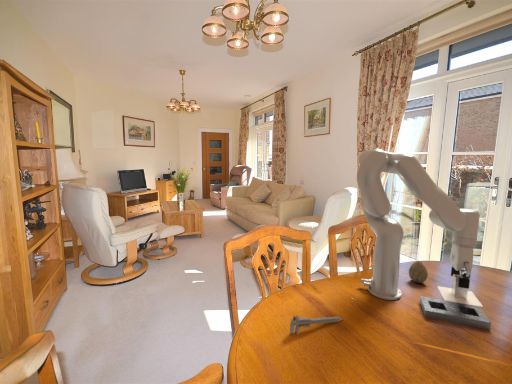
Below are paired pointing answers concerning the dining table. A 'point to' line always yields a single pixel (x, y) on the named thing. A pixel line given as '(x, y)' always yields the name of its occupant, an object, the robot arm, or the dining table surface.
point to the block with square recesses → (454, 312)
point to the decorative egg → (418, 272)
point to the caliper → (310, 322)
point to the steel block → (458, 288)
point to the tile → (449, 297)
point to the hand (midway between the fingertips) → (459, 281)
